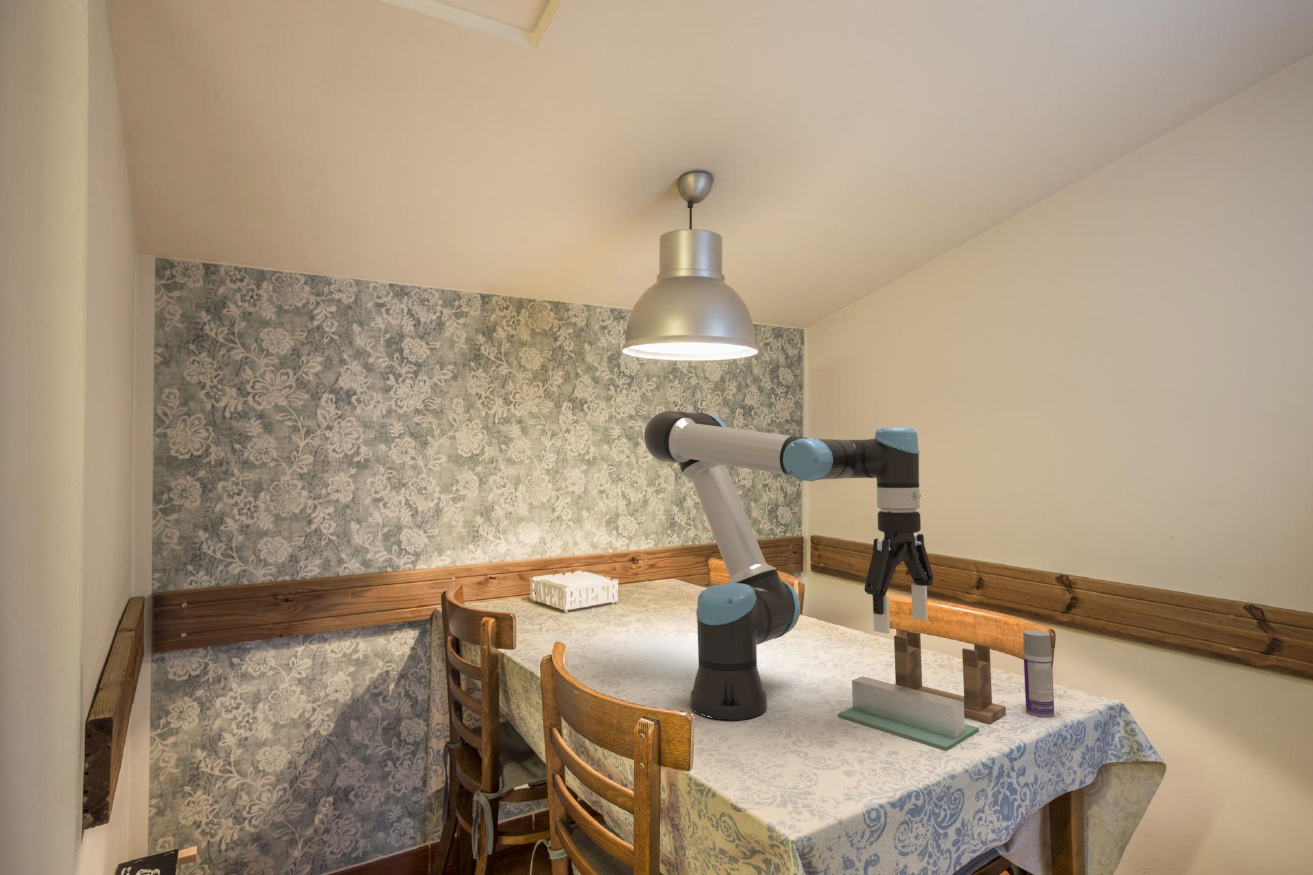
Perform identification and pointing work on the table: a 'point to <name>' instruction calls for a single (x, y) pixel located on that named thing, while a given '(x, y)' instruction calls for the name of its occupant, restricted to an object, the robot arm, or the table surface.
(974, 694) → the rack
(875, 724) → the mat
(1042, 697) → the container
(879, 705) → the rail
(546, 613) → the table surface
